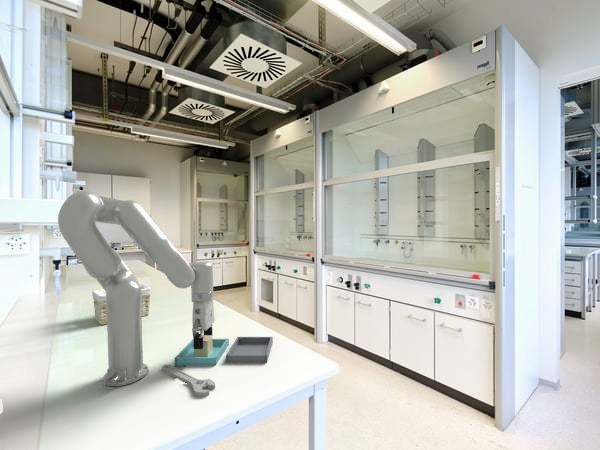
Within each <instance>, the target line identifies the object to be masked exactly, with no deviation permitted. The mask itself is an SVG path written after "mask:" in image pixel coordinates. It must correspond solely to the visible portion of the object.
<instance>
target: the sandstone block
mask: <svg viewBox="0 0 600 450" xmlns="http://www.w3.org/2000/svg"><path fill="white" fill-rule="evenodd" d="M202 337H203V349H194V357H209V355H210V354H211V353H212V352H213V342H212V339H213V334H212V335H204V334H202Z"/></svg>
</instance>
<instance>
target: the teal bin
mask: <svg viewBox="0 0 600 450" xmlns="http://www.w3.org/2000/svg"><path fill="white" fill-rule="evenodd" d="M229 341H230V340H229V338H212V342H213V352H212V353H211V354H210V355H209V357H194V340H193V338H192V339H191V340H190V342H189V343H187V344H186V345H185V347H184V348H183V349H182V350H181V351H179V353H178V354H177V355H176V356H175V357H174V367H175V368H186V367H187V366H217V365H218V363H219V361H220V359H221V358H222V357H223V355H224V354H225V351H227V349H228V347H229V345H230V342H229Z"/></svg>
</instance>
